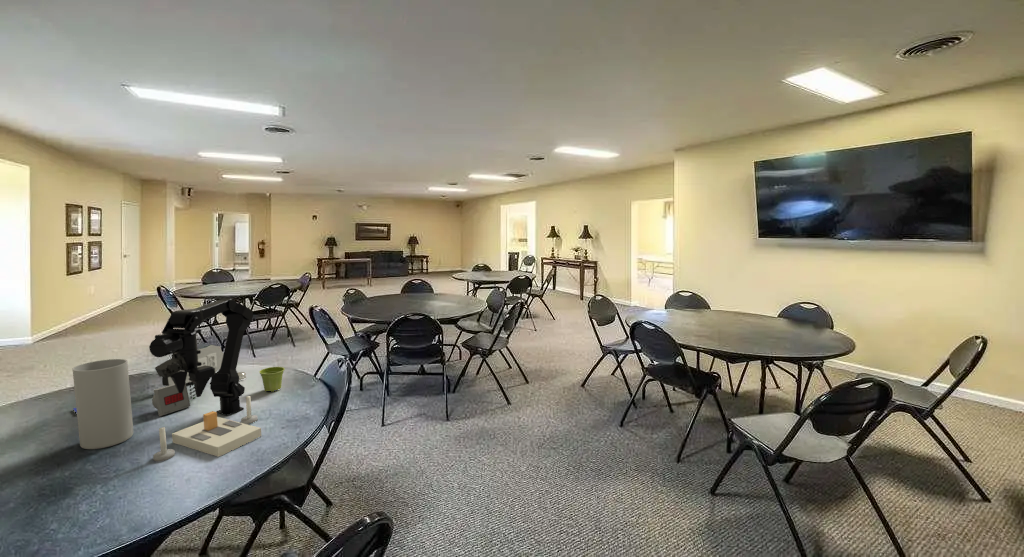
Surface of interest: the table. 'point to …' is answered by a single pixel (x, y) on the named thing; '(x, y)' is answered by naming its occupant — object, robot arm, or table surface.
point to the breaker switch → (210, 420)
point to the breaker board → (217, 436)
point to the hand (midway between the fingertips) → (189, 394)
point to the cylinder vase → (103, 403)
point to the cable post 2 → (249, 413)
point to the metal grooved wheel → (241, 375)
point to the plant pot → (272, 378)
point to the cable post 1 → (163, 448)
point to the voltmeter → (171, 399)
